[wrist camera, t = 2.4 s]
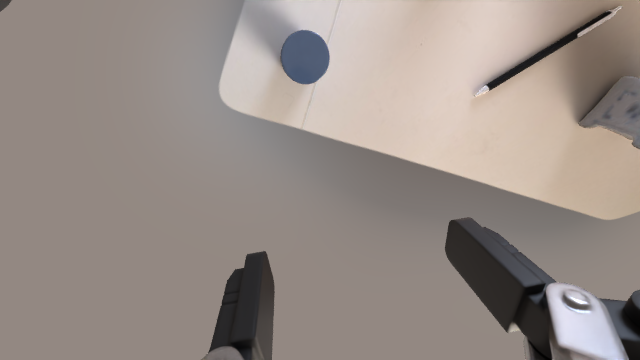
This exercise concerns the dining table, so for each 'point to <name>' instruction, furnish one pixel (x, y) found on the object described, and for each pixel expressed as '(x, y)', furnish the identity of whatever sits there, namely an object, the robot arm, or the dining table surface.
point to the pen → (549, 50)
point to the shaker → (305, 57)
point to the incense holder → (619, 110)
